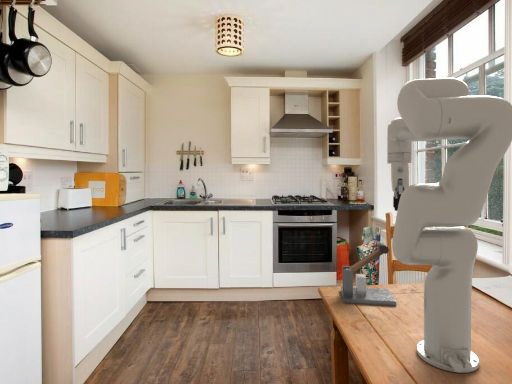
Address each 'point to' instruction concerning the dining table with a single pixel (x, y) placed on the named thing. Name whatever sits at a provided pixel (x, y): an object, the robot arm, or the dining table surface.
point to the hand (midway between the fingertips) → (398, 209)
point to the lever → (370, 257)
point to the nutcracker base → (370, 292)
